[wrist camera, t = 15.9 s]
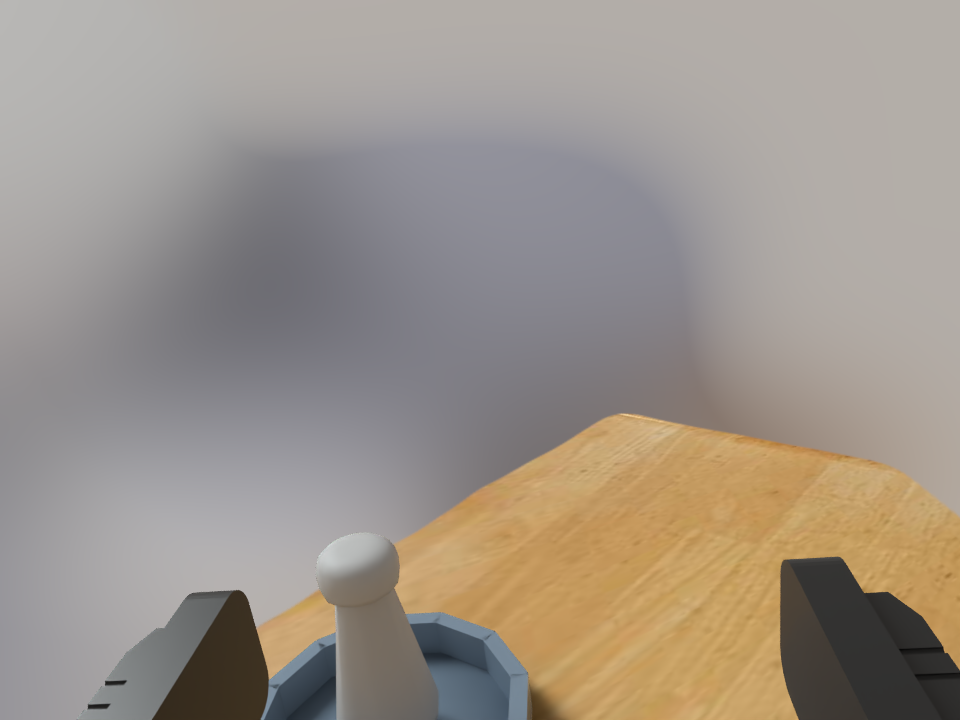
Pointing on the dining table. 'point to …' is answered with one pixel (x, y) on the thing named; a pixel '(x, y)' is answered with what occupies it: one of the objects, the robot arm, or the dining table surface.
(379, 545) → the salt shaker
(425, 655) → the bowl
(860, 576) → the dining table surface
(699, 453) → the dining table surface
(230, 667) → the robot arm
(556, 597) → the dining table surface
